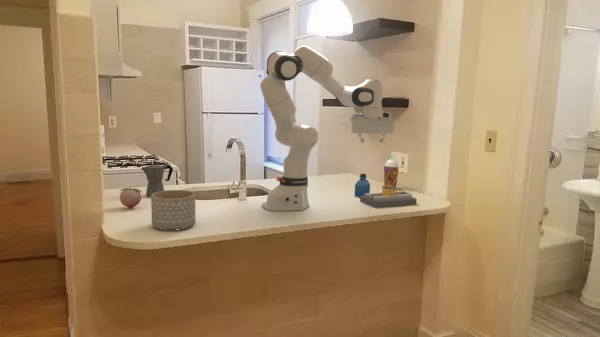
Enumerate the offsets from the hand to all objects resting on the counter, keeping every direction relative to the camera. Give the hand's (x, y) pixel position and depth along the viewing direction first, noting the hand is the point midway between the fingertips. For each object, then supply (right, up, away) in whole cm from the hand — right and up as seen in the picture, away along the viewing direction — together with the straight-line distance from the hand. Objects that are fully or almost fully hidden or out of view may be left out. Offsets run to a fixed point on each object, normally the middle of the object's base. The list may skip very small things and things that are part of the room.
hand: (371, 142), depth 216 cm
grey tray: (+9, -30, +6) cm, 32 cm away
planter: (-84, -35, -42) cm, 100 cm away
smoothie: (+18, -25, +44) cm, 53 cm away
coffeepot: (-107, -27, +10) cm, 111 cm away
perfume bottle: (-2, -28, +21) cm, 35 cm away
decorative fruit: (-111, -31, -17) cm, 116 cm away
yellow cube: (+9, -27, +6) cm, 29 cm away
